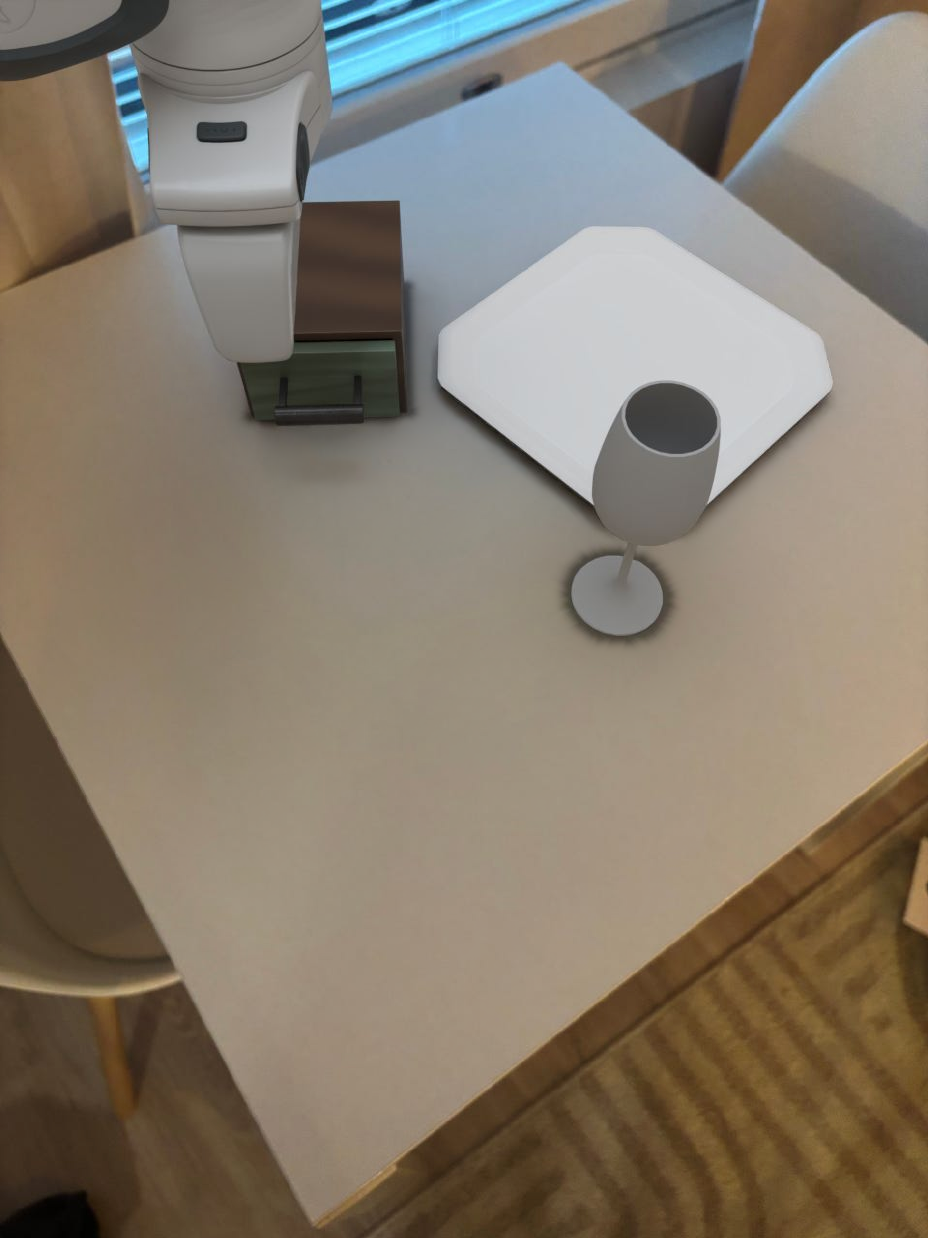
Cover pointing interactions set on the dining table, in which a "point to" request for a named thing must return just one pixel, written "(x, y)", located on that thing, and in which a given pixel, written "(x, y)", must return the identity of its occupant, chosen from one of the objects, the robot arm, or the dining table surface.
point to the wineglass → (647, 498)
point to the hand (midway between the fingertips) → (282, 301)
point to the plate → (628, 352)
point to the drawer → (326, 383)
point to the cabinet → (351, 277)
